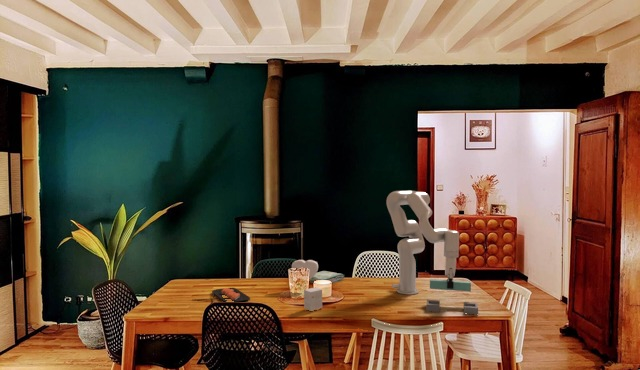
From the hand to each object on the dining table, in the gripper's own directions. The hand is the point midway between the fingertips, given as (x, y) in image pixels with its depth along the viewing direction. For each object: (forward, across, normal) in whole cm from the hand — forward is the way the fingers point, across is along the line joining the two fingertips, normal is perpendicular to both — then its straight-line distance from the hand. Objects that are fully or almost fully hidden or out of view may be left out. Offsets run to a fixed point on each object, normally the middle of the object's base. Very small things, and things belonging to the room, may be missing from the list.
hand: (450, 287), depth 245 cm
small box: (+11, +27, -68) cm, 74 cm away
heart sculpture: (+12, -8, -84) cm, 85 cm away
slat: (+1, 0, 0) cm, 1 cm away
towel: (+13, -33, -79) cm, 86 cm away
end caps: (+9, +12, +1) cm, 15 cm away
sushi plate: (+13, +21, -126) cm, 129 cm away
